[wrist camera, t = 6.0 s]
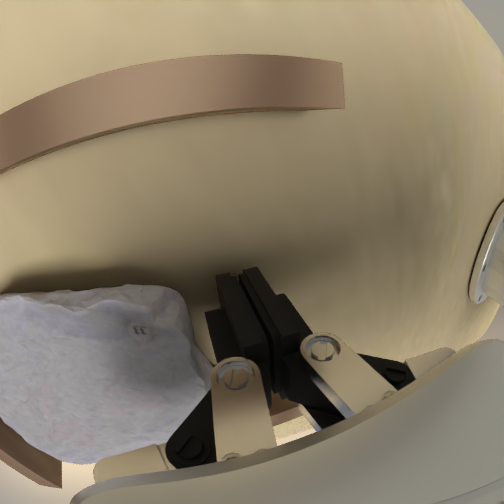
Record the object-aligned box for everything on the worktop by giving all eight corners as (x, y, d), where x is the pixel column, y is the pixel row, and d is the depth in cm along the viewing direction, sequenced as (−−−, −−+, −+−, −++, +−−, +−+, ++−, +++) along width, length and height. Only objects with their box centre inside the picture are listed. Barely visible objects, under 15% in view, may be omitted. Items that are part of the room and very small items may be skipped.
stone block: (-18, 291, 9) (63, 424, 12) (-64, 329, 4) (53, 478, 7) (169, 222, 12) (226, 387, 15) (173, 243, 7) (252, 447, 10)
